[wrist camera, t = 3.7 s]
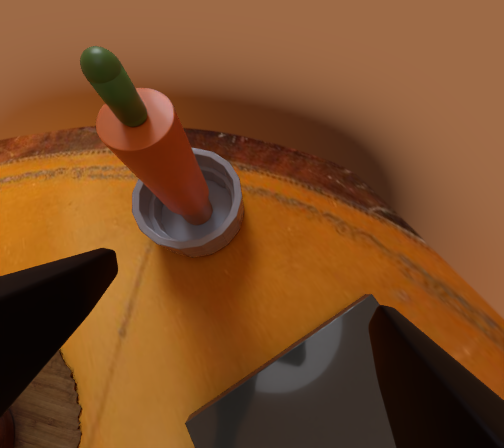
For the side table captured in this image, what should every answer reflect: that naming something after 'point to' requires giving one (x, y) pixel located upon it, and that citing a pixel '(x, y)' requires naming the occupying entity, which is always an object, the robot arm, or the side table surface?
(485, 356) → the side table surface
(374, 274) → the side table surface
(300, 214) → the side table surface
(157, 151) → the carrot
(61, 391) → the ceramic pot
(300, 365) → the slate board
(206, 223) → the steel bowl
